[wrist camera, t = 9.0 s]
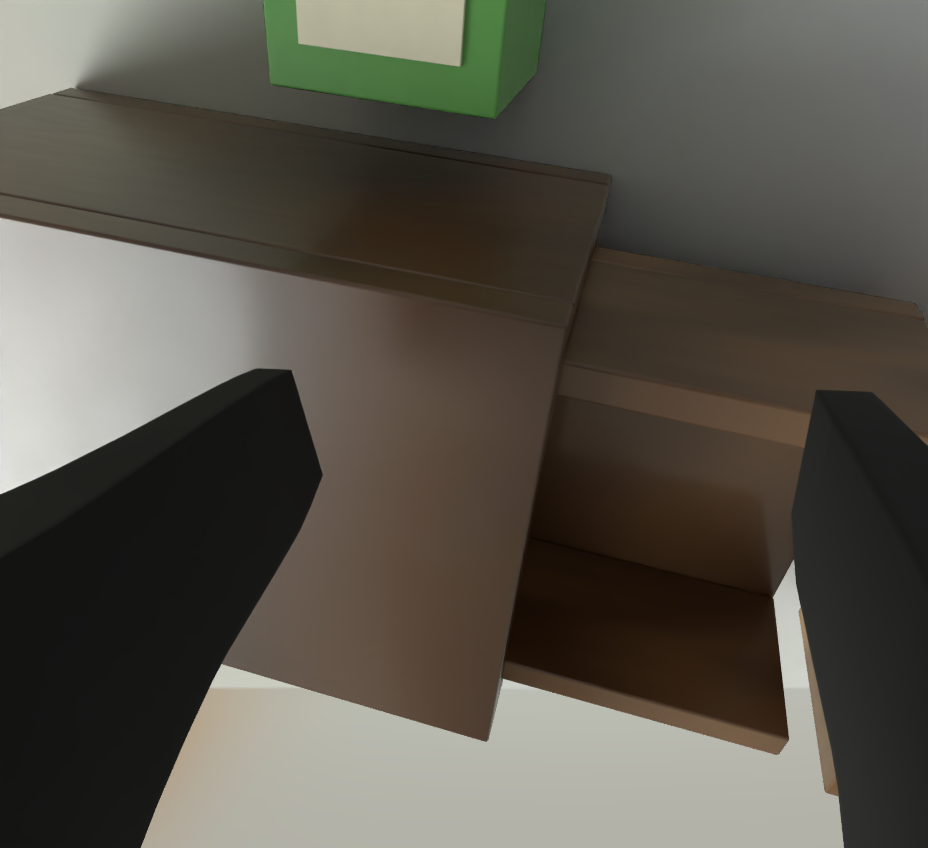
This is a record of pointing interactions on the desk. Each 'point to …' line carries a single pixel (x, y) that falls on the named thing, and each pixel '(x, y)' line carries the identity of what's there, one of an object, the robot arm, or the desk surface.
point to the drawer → (691, 487)
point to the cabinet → (309, 358)
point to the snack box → (407, 50)
